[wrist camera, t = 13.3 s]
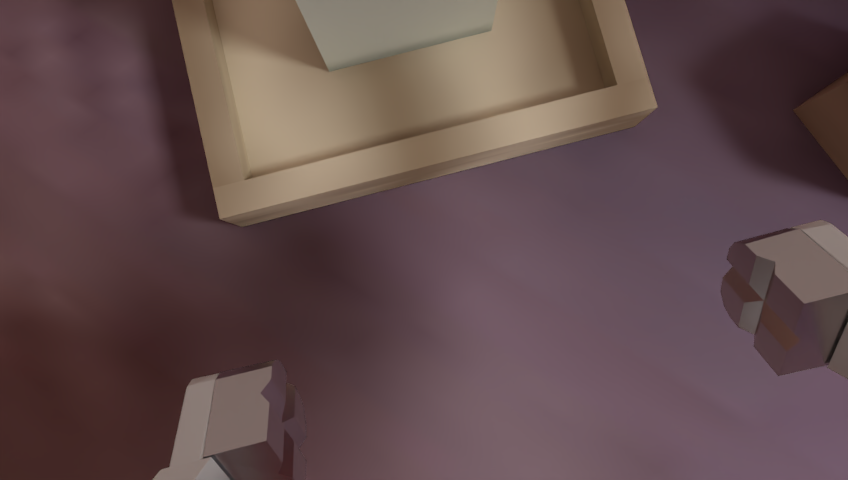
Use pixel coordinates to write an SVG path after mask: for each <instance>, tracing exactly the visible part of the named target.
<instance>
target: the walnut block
mask: <svg viewBox="0 0 848 480" xmlns="http://www.w3.org/2000/svg"><path fill="white" fill-rule="evenodd" d="M793 111H794V112H795V113H796V115H797V116H798V117H799V119H800V120H801V121H802V122H803V124H804V125H805V126H806V128H807V129H808V130H809V131H810V133H811V134H812V135H813V136H814V138H815V139H816V140H817V142H818V143H819V144H820V145H821V147H822V148H823V149H824V150H825V152H826V153H827V154H828V156H829V157H830V158H831V159H832V161H833V162H834V163H835V164H836V166H837V167H838V168H839V170H840V171H841V172H842V173H843V175H844V176H845V177H846V179H847V180H848V72H847V73H846V74H844V75H843V76H841V77H840V78H839V79H837V80H836V81H834V82H833V83H831V84H830V85H828V86H827V87H826V88H824V89H823V90H821V91H820V92H818V93H817V94H816V95H814V96H813V97H811V98H810V99H808V100H807V101H805V102H804V103H803V104H801V105H800V106H798V107H797V108H795V109H794V110H793Z"/></svg>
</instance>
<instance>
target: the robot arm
mask: <svg viewBox="0 0 848 480" xmlns="http://www.w3.org/2000/svg"><path fill="white" fill-rule="evenodd" d="M727 260H728V261H729V263H730V264H731V265H732V266H733V267H732V268H731V269H730V270H729V271H728V272H727V273H726V275H725V276H724V277H723V279H722V285H721V295H722V300H723V304H724V307H725V309H726V311H727V312H728V314H729V316H730V318H731V319H732V320H733V321H734V323H735V324H736V325H737V326H738V327H739V328H741V329H743V330H745V331H748V332H750V333H752V334H754V347H755V349H756V350H757V351H758V352H759V353H760V355H761V356H762V357H763V358H764V360H765V361H766V362H767V363H768V364H769V366H770V367H771V368H772V369H773V370H774V372H775V373H776V374H777V375H778V376H781V375H786V374H790V373H795V372H799V371H803V370H808V369H812V368H817V367H821V366H825V365H828V367H827V368H829V369H831V370H833V371H834V372H836V373H838V374H840V375H842V376H843V377H845V378H847V379H848V237H847V236H846V235H845V234H843V233H842V232H841V231H840V230H838V229H837V228H836V227H835V226H833V225H832V224H831V223H829V222H826V221H823V220H818V221H814V222H810V223H807V224H803V225H799V226H795V227H792V228H790V229H788V228H786V229H783V230H779V231H775V232H771V233H768V234H764V235H760V236H756V237H753V238H749V239H745V240H741V241H738V242H734V243H733V245H732V246H731V247H730V248H729V251H728V256H727ZM286 372H287V371H286V370H285V368H284V366H283V365H282V363H281V362H280V360H272V361H268V362H263V363H259V364H254V365H250V366H246V367H241V368H237V369H232V370H228V371H224V372H220V373H217V374H212V375H208V376H204V377H199V378H195V379H192V380H191V382H190V383H189V385H188V386H187V388H186V391H185V396H184V401H183V405H182V410H181V414H180V419H179V424H178V428H177V433H176V437H175V442H174V447H173V451H172V456H171V461H170V465H169V467H168V468H164V469H161V470H160V471H159V472H158V473H157V475H156V476H155V477H154V478H153V480H306V459H305V457H304V456H303V454H302V453H301V451H300V449H299V448H300V446H301V445H302V443H303V442H304V440H305V439H306V417H305V411H304V405H303V403H302V400H301V397H300V394H299V392H298V391H297V389H296V387H295V386H293V385H291V384H288V383H286Z"/></svg>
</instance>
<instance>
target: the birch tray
mask: <svg viewBox="0 0 848 480" xmlns="http://www.w3.org/2000/svg"><path fill="white" fill-rule="evenodd" d="M172 4H173V8H174V13H175V18H176V22H177V27H178V31H179V36H180V40H181V45H182V50H183V54H184V59H185V63H186V68H187V72H188V77H189V81H190V86H191V91H192V95H193V100H194V104H195V109H196V113H197V118H198V123H199V127H200V132H201V136H202V141H203V145H204V150H205V155H206V159H207V164H208V168H209V173H210V177H211V182H212V186H213V191H214V196H215V200H216V205H217V209H218V214H219V218H220V219H221V220H224V221H226V222H229V223H232V224H235V225H238V226H241V227H244V226H248V225H252V224H256V223H260V222H264V221H268V220H271V219H275V218H279V217H283V216H287V215H291V214H295V213H299V212H303V211H307V210H311V209H315V208H318V207H322V206H326V205H330V204H334V203H338V202H342V201H346V200H350V199H354V198H358V197H361V196H365V195H369V194H373V193H377V192H381V191H385V190H389V189H393V188H397V187H401V186H404V185H408V184H412V183H416V182H420V181H424V180H428V179H432V178H436V177H440V176H444V175H447V174H451V173H455V172H459V171H463V170H467V169H471V168H475V167H479V166H483V165H487V164H490V163H494V162H498V161H502V160H506V159H510V158H514V157H518V156H522V155H526V154H530V153H534V152H537V151H541V150H545V149H549V148H553V147H557V146H561V145H565V144H569V143H573V142H577V141H580V140H584V139H588V138H592V137H596V136H600V135H604V134H608V133H612V132H616V131H620V130H623V129H627V128H631V127H635V126H636V125H637V124H638V123H640V122H641V121H642V120H643V119H644V118H646V117H647V116H648V115H649V114H650V113H651V112H653V111H654V110H655V109H656V108H657V107H658V106H657V103H656V100H655V97H654V93H653V90H652V87H651V84H650V80H649V77H648V74H647V71H646V67H645V64H644V61H643V58H642V54H641V51H640V48H639V45H638V41H637V38H636V35H635V32H634V29H633V25H632V22H631V19H630V16H629V12H628V9H627V6H626V3H625V0H498V2H497V6H496V11H495V16H494V20H493V25H492V30H491V31H488V32H484V33H480V34H476V35H472V36H469V37H465V38H461V39H457V40H453V41H449V42H445V43H441V44H437V45H433V46H429V47H425V48H421V49H417V50H413V51H409V52H405V53H402V54H398V55H394V56H390V57H386V58H382V59H378V60H374V61H370V62H366V63H362V64H358V65H354V66H350V67H346V68H342V69H338V70H334V71H331V72H329V70H328V68H327V66H326V64H325V62H324V59H323V57H322V55H321V53H320V51H319V49H318V47H317V45H316V43H315V41H314V38H313V36H312V34H311V32H310V30H309V28H308V26H307V24H306V22H305V19H304V17H303V15H302V13H301V11H300V9H299V7H298V5H297V3H296V1H295V0H172Z"/></svg>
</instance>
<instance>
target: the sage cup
mask: <svg viewBox="0 0 848 480" xmlns="http://www.w3.org/2000/svg"><path fill="white" fill-rule="evenodd" d="M295 1H296V3H297V5H298V7H299V9H300V11H301V13H302V15H303V17H304V19H305V22H306V24H307V26H308V28H309V30H310V32H311V34H312V36H313V38H314V41H315V43H316V45H317V47H318V49H319V51H320V53H321V55H322V57H323V59H324V62H325V64H326V66H327V68H328V70H329V72H331V71H334V70H338V69H342V68H346V67H350V66H354V65H358V64H362V63H366V62H370V61H374V60H378V59H382V58H386V57H390V56H394V55H398V54H402V53H405V52H409V51H413V50H417V49H421V48H425V47H429V46H433V45H437V44H441V43H445V42H449V41H453V40H457V39H461V38H465V37H469V36H472V35H476V34H480V33H484V32H488V31H491V30H492V25H493V20H494V16H495V11H496V6H497V2H498V0H295Z"/></svg>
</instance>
